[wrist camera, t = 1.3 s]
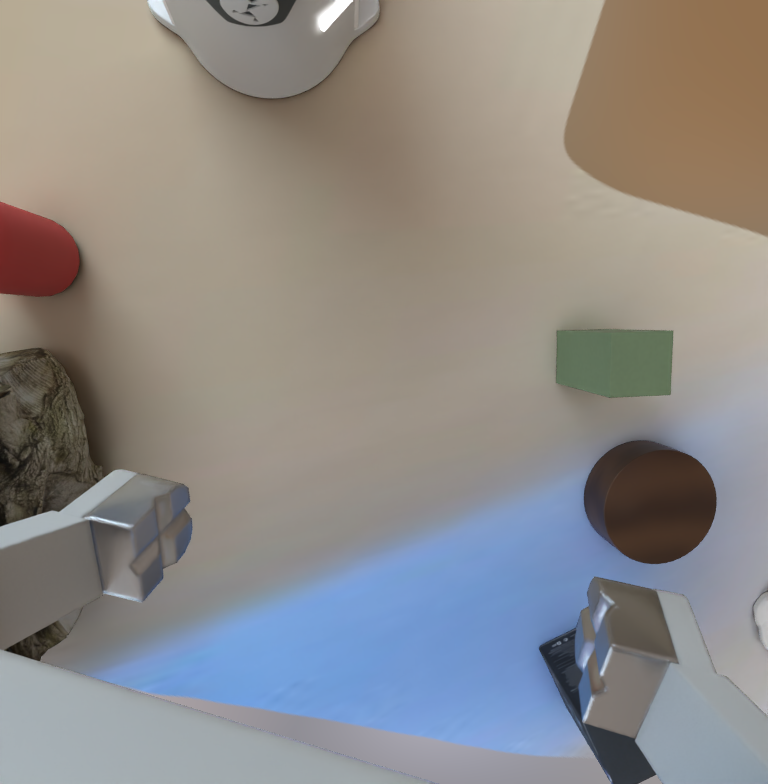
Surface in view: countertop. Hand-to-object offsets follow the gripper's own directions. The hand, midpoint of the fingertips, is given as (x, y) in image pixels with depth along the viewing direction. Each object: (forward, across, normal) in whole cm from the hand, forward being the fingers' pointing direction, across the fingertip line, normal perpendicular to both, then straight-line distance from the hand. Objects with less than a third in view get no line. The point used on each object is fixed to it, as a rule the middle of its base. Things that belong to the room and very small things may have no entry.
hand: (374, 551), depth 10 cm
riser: (+41, -18, +22) cm, 50 cm away
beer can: (+30, +37, +4) cm, 48 cm away
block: (+43, -10, +9) cm, 45 cm away
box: (+34, -16, +40) cm, 55 cm away
